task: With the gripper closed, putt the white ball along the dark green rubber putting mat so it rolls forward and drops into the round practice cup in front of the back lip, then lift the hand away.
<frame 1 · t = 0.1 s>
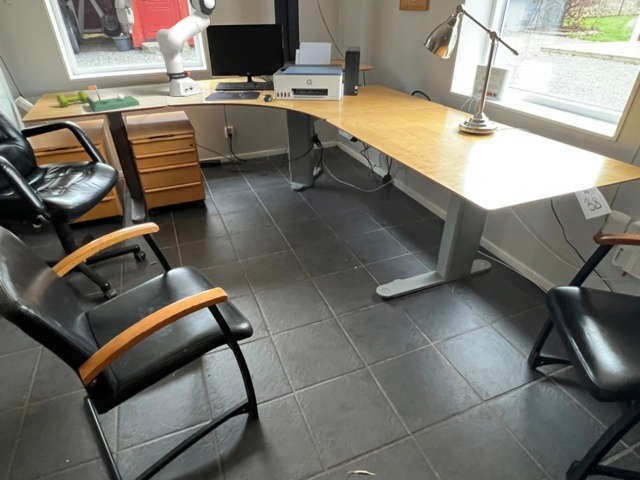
hand: (128, 32, 228), 39 cm above the table, tool pointing down, fingers open, 8 cm apart
dumbbell: (75, 105, 242), on the table
putting mat: (114, 105, 238), on the table
ball: (121, 97, 238), point 4 cm above the table, touching putting mat
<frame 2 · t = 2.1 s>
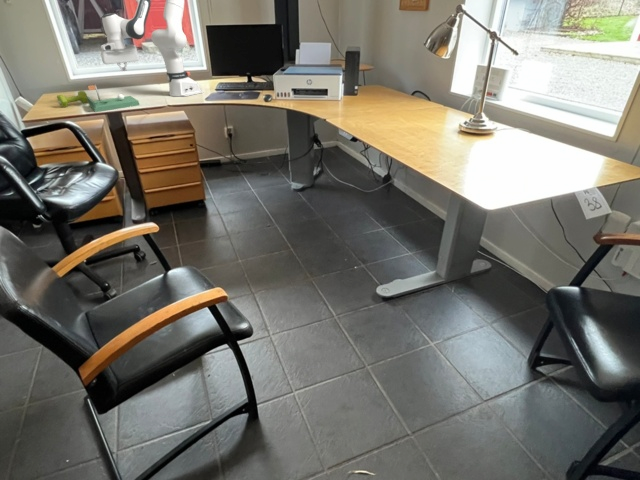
hand: (124, 70, 233), 19 cm above the table, tool pointing down, fingers closed
nothing on the table moved.
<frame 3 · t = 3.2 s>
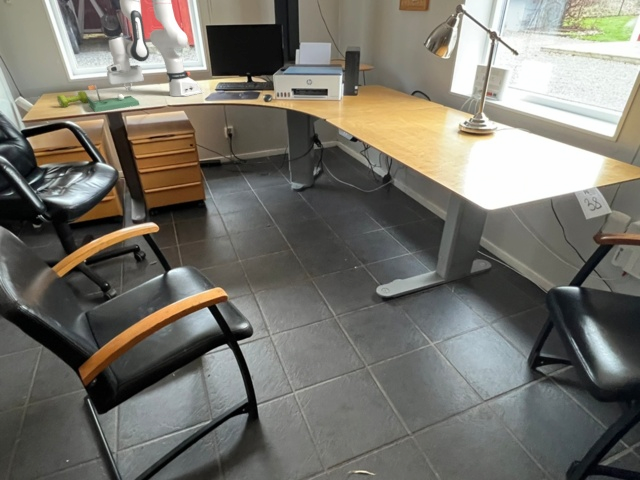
hand: (129, 90, 239), 7 cm above the table, tool pointing down, fingers closed
nothing on the table moved.
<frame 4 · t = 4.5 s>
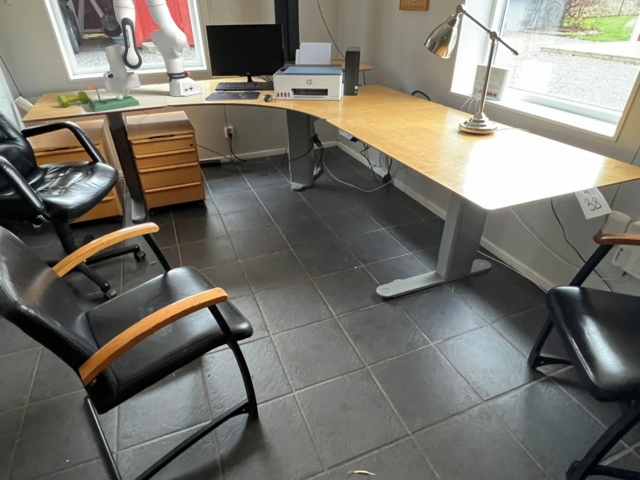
hand: (126, 97, 239), 4 cm above the table, tool pointing down, fingers closed
ball: (119, 97, 237), point 4 cm above the table, tilted 22°, touching putting mat
everything else where it was.
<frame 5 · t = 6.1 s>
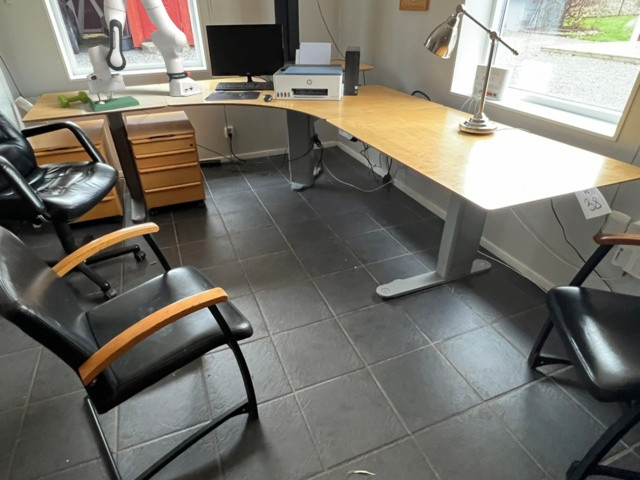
hand: (110, 99, 235), 4 cm above the table, tool pointing down, fingers closed
ball: (101, 104, 233), point 2 cm above the table, tilted 45°
everything else where it was.
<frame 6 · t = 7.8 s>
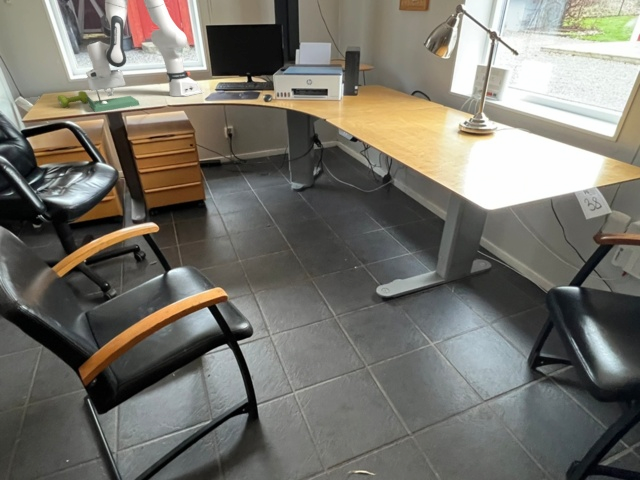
hand: (110, 95, 235), 6 cm above the table, tool pointing down, fingers closed
ball: (104, 104, 234), point 2 cm above the table, tilted 6°
everything else where it was.
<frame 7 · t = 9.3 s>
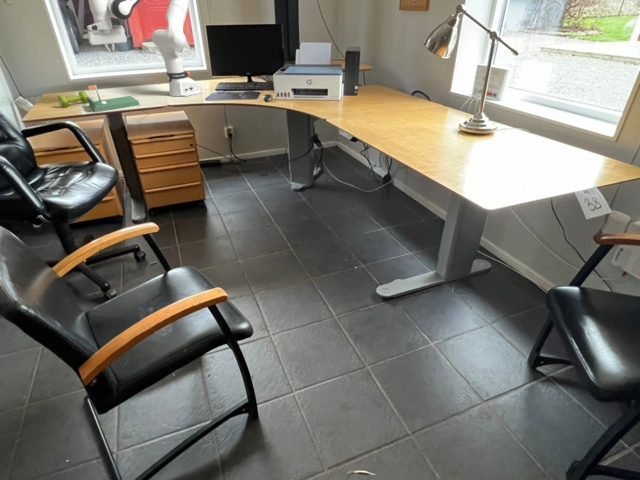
hand: (111, 52, 229), 29 cm above the table, tool pointing down, fingers closed
nothing on the table moved.
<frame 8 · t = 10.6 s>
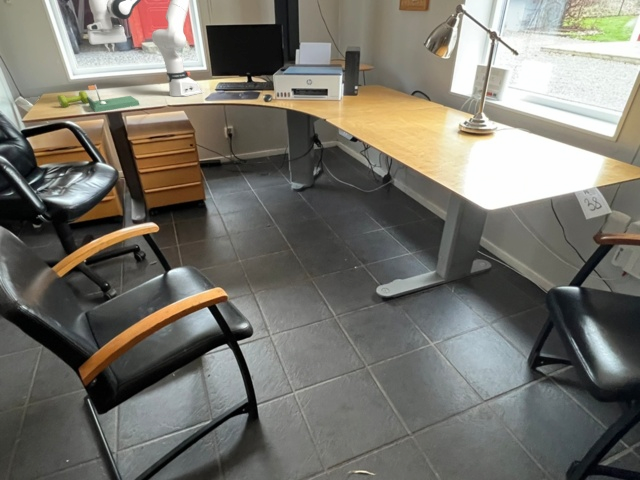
hand: (111, 51, 229), 29 cm above the table, tool pointing down, fingers closed
ball: (103, 104, 234), point 2 cm above the table, tilted 19°
at the end: ball 0.1 cm from the target spot on the putting mat, point 1.8 cm above the putting mat's base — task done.
